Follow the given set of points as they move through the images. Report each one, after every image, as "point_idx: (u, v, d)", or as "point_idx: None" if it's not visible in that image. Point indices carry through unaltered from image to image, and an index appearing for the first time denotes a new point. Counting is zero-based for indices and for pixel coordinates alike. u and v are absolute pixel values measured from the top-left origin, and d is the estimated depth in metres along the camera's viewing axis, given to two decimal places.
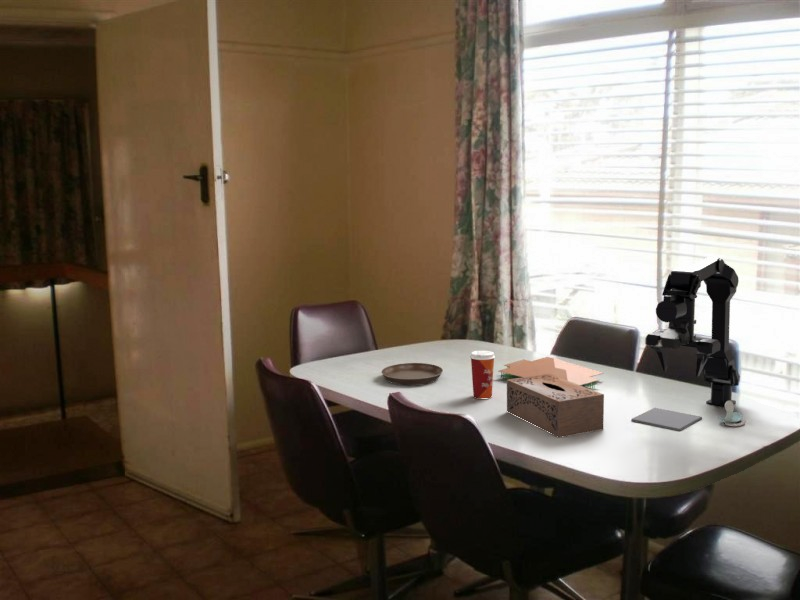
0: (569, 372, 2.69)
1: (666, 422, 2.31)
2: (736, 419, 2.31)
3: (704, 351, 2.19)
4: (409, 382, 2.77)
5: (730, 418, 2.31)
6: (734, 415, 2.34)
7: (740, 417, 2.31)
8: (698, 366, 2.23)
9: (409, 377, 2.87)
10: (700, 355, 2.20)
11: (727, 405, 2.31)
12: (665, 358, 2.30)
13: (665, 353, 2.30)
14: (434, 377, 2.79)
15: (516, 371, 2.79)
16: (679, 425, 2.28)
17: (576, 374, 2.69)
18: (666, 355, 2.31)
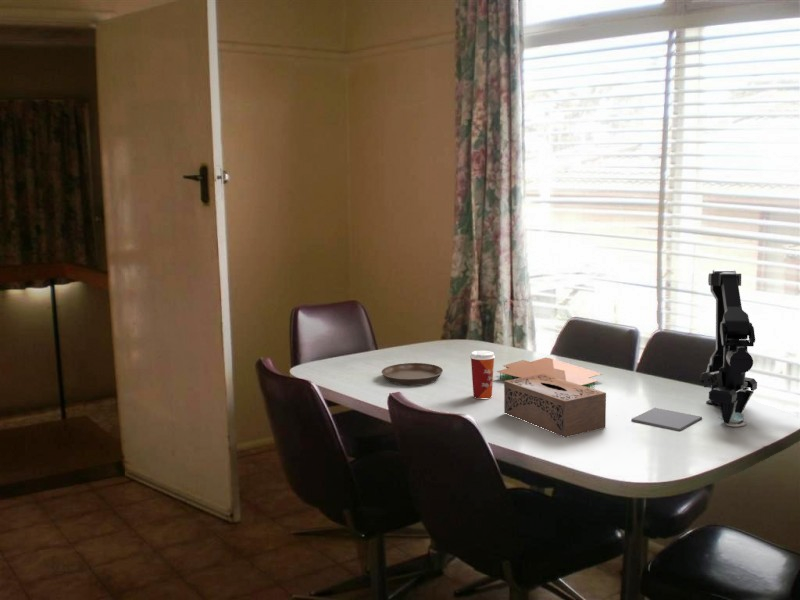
0: (568, 373, 2.68)
1: (666, 422, 2.31)
2: (737, 419, 2.31)
3: None
4: (409, 382, 2.77)
5: (731, 418, 2.31)
6: (735, 415, 2.33)
7: (741, 417, 2.31)
8: None
9: (409, 377, 2.87)
10: None
11: None
12: (739, 404, 2.33)
13: (740, 399, 2.33)
14: (434, 377, 2.79)
15: (515, 372, 2.78)
16: (679, 425, 2.28)
17: (575, 375, 2.68)
18: (742, 402, 2.33)
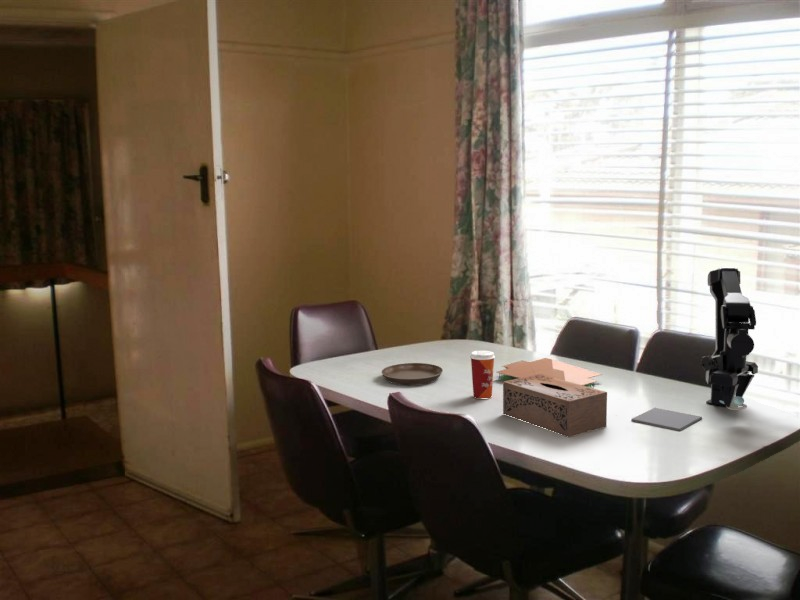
0: (567, 373, 2.67)
1: (666, 422, 2.31)
2: (738, 403, 2.30)
3: None
4: (409, 382, 2.77)
5: (732, 402, 2.30)
6: (736, 399, 2.32)
7: (742, 401, 2.30)
8: None
9: (409, 377, 2.87)
10: None
11: None
12: (740, 388, 2.32)
13: (741, 383, 2.32)
14: (434, 377, 2.79)
15: (514, 372, 2.77)
16: (679, 425, 2.28)
17: (574, 375, 2.67)
18: (743, 386, 2.32)
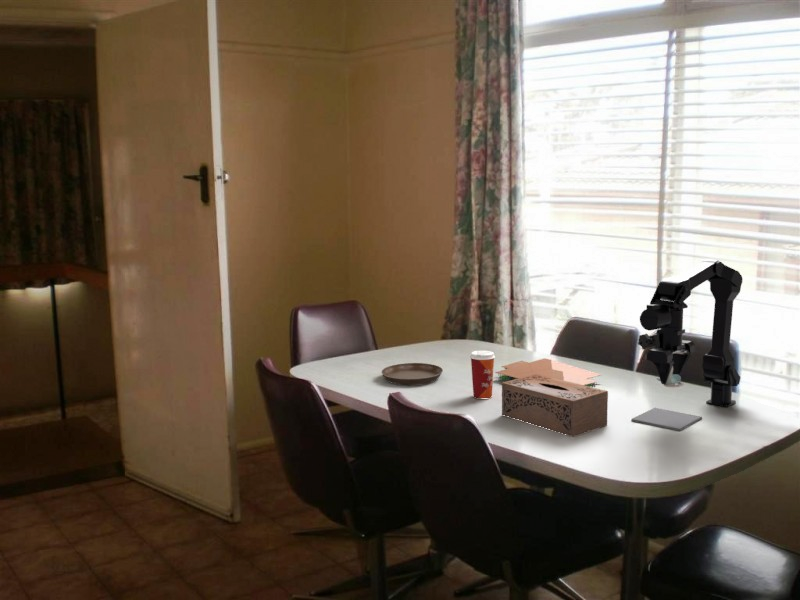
0: (566, 374, 2.67)
1: (666, 422, 2.31)
2: (675, 381, 2.33)
3: None
4: (409, 382, 2.77)
5: (669, 380, 2.33)
6: (674, 377, 2.35)
7: (679, 379, 2.33)
8: None
9: (409, 377, 2.87)
10: None
11: None
12: (677, 366, 2.36)
13: (678, 361, 2.36)
14: (434, 377, 2.79)
15: (513, 372, 2.77)
16: (679, 425, 2.28)
17: (573, 376, 2.66)
18: (680, 364, 2.35)
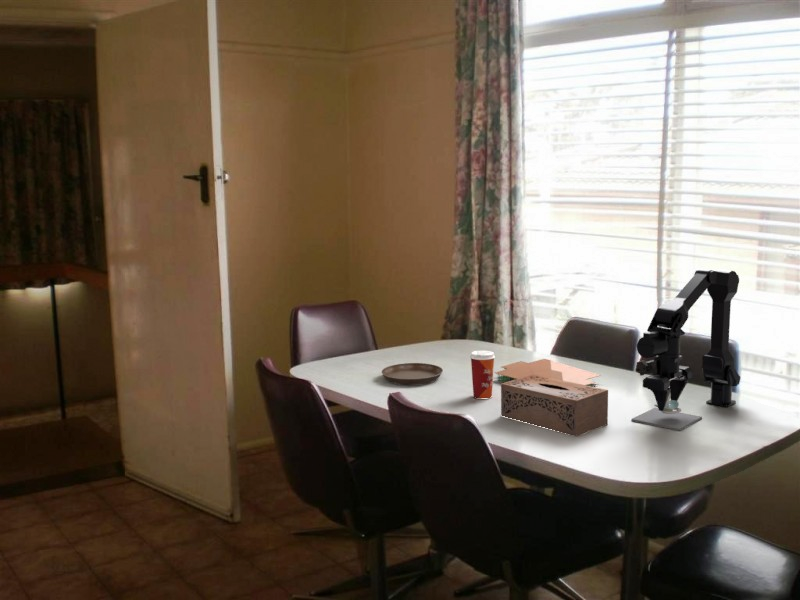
0: (565, 374, 2.66)
1: (666, 422, 2.31)
2: (673, 407, 2.35)
3: None
4: (409, 382, 2.77)
5: (667, 406, 2.35)
6: (671, 403, 2.37)
7: (677, 405, 2.35)
8: None
9: (409, 377, 2.87)
10: None
11: None
12: (674, 392, 2.37)
13: (675, 387, 2.37)
14: (434, 377, 2.79)
15: (512, 373, 2.76)
16: (679, 425, 2.28)
17: (572, 376, 2.66)
18: (677, 390, 2.37)
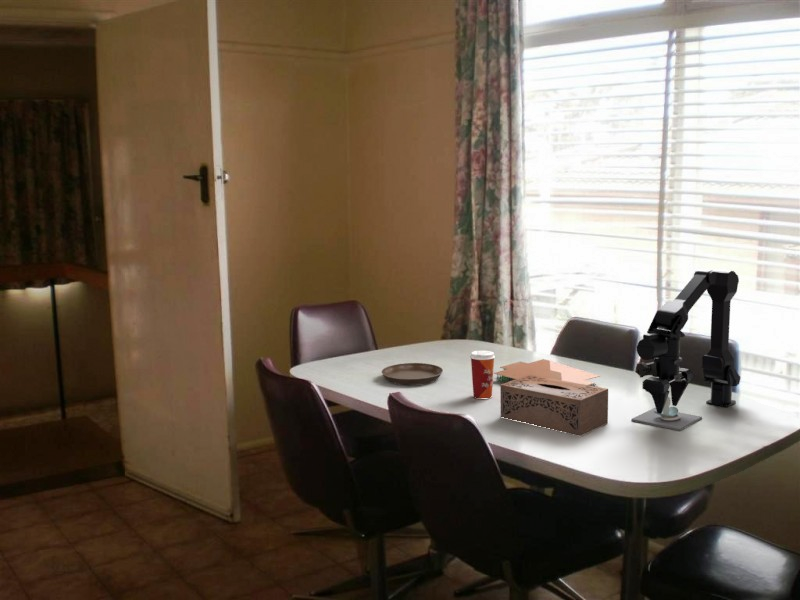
0: (564, 375, 2.65)
1: (666, 422, 2.31)
2: (672, 413, 2.35)
3: None
4: (409, 382, 2.77)
5: (666, 412, 2.35)
6: (671, 410, 2.37)
7: (676, 411, 2.35)
8: None
9: (409, 377, 2.87)
10: None
11: None
12: (675, 393, 2.38)
13: (676, 389, 2.38)
14: (434, 377, 2.79)
15: (511, 373, 2.76)
16: (679, 425, 2.28)
17: (571, 377, 2.65)
18: (678, 391, 2.37)
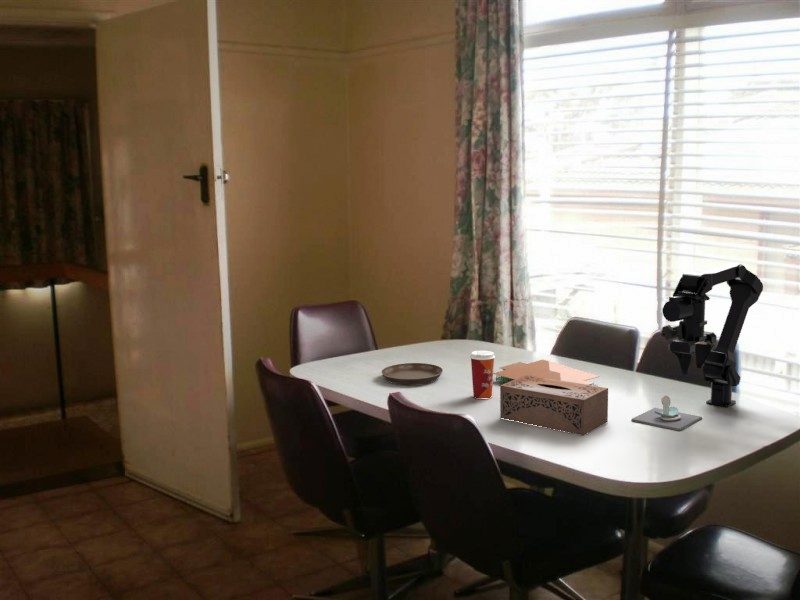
0: (563, 375, 2.65)
1: (666, 422, 2.31)
2: (672, 413, 2.35)
3: None
4: (409, 382, 2.77)
5: (667, 412, 2.35)
6: (671, 410, 2.37)
7: (676, 412, 2.35)
8: None
9: (409, 377, 2.87)
10: None
11: (663, 400, 2.34)
12: (700, 356, 2.43)
13: (701, 351, 2.43)
14: (434, 377, 2.79)
15: (511, 374, 2.75)
16: (679, 425, 2.28)
17: (570, 377, 2.65)
18: (703, 354, 2.42)
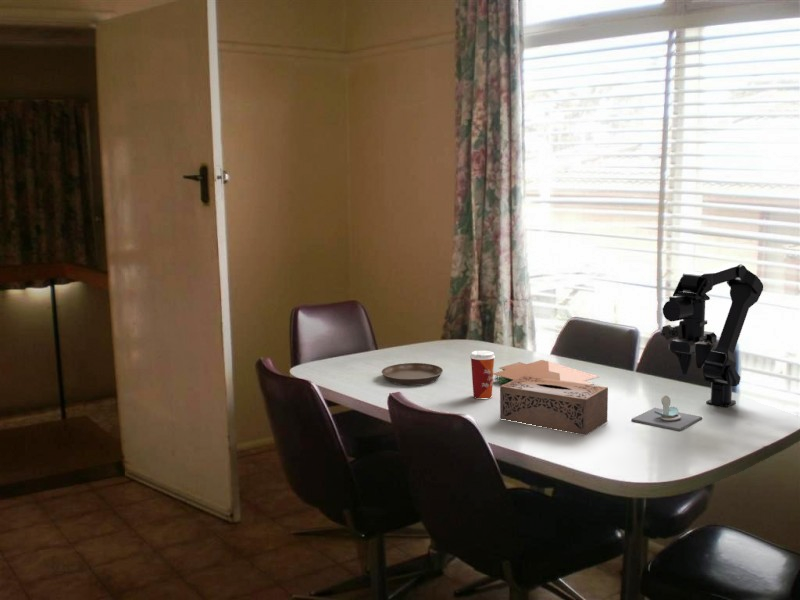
0: (563, 376, 2.64)
1: (666, 422, 2.31)
2: (672, 413, 2.35)
3: None
4: (409, 382, 2.77)
5: (667, 412, 2.35)
6: (671, 410, 2.37)
7: (676, 412, 2.35)
8: None
9: (409, 377, 2.87)
10: None
11: (663, 400, 2.34)
12: (700, 356, 2.43)
13: (701, 351, 2.43)
14: (434, 377, 2.79)
15: (510, 374, 2.75)
16: (679, 425, 2.28)
17: (570, 378, 2.64)
18: (703, 354, 2.42)
